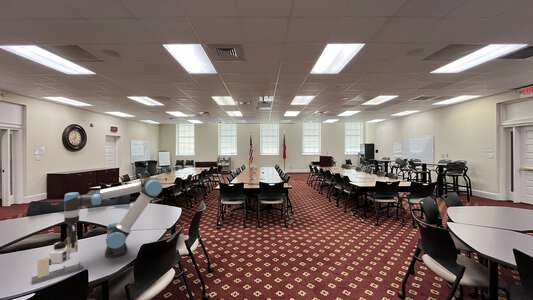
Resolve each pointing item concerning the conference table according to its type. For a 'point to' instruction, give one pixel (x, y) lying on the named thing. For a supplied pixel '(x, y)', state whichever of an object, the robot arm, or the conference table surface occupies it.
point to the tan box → (69, 244)
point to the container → (59, 253)
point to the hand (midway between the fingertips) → (72, 251)
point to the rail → (46, 275)
